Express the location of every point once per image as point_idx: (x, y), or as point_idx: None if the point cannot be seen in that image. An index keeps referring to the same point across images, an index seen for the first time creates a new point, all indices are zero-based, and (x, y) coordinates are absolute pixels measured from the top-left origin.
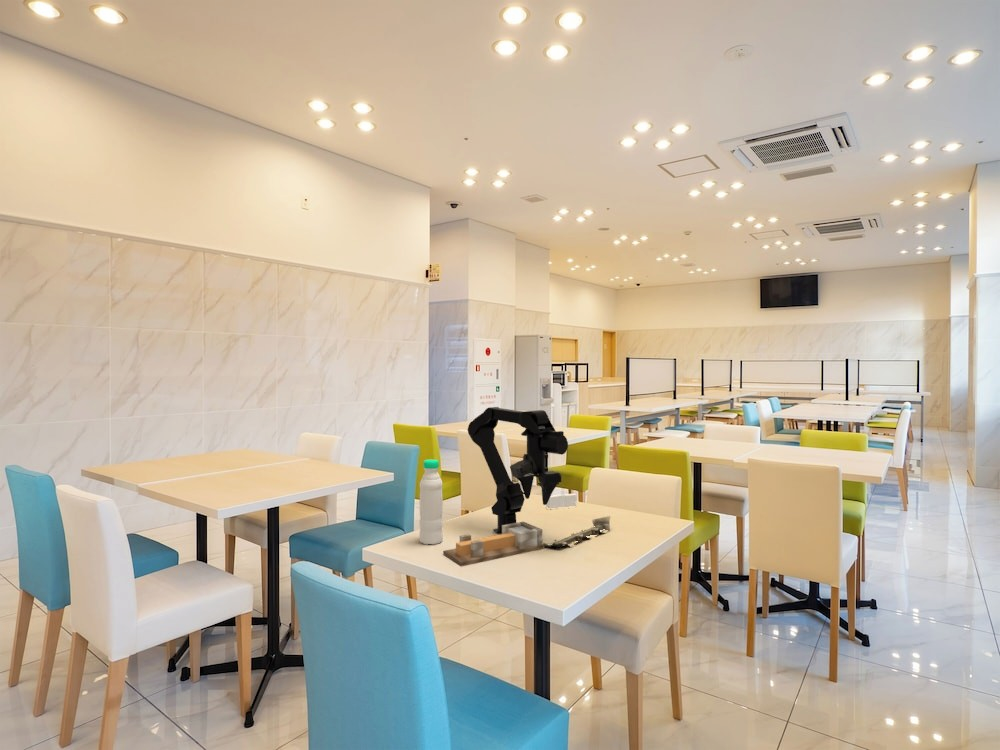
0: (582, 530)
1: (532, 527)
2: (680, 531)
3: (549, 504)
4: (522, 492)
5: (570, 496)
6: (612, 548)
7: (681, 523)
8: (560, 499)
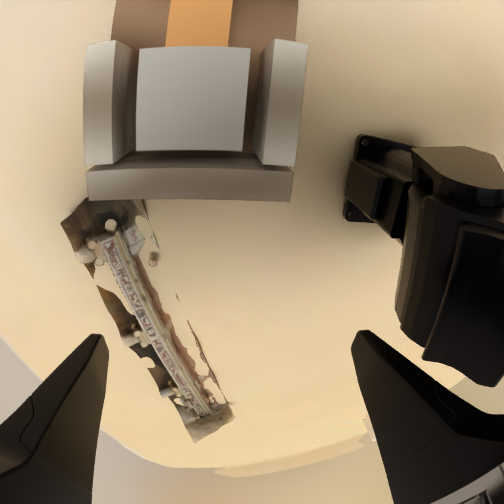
0: (213, 376)
1: (147, 173)
2: (127, 449)
3: None
4: (434, 356)
5: None
6: (54, 341)
7: (165, 464)
8: None
